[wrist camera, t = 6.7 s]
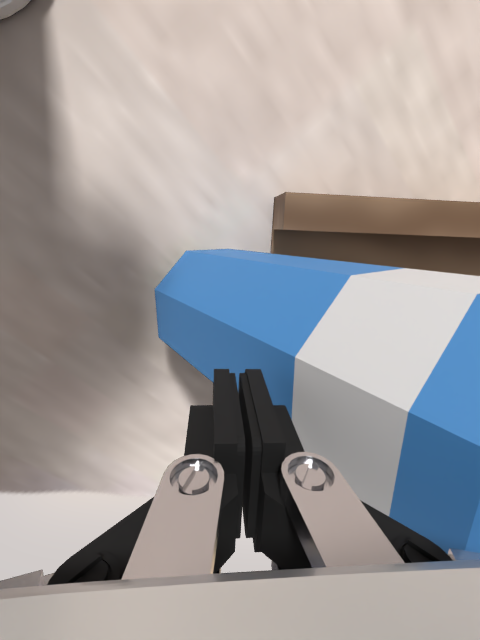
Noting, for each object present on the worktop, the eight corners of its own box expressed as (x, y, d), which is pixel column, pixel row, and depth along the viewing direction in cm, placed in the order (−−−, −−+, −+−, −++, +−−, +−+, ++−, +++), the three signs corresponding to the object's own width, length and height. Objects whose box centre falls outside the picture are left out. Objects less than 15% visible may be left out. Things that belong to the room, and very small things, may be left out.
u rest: (274, 197, 24) (285, 192, 20) (547, 211, 27) (603, 208, 23) (261, 387, 29) (269, 411, 25) (493, 385, 31) (532, 407, 28)
